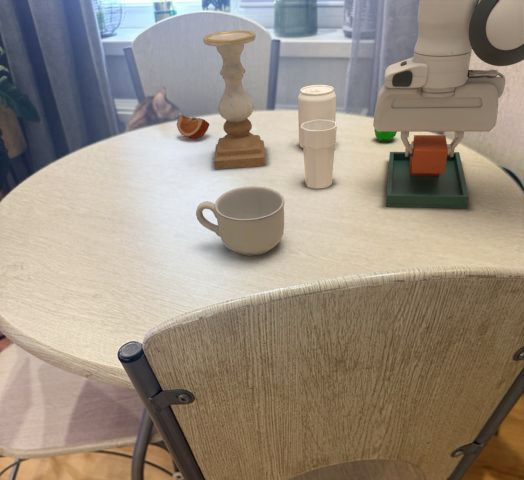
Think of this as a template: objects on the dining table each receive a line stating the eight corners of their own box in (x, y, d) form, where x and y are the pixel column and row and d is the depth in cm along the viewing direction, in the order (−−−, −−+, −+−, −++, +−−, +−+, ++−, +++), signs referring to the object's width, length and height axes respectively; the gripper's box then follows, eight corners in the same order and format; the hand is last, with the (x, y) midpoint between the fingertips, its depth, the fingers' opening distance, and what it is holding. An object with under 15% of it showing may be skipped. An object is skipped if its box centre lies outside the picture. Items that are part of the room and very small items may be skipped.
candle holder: (264, 148, 122) (256, 28, 107) (266, 165, 114) (258, 37, 98) (216, 151, 122) (202, 32, 107) (214, 169, 114) (199, 42, 99)
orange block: (442, 157, 99) (445, 135, 96) (444, 173, 93) (448, 150, 90) (411, 156, 100) (414, 135, 97) (411, 173, 94) (414, 150, 91)
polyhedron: (373, 144, 119) (374, 121, 116) (374, 136, 123) (375, 115, 120) (395, 144, 118) (398, 121, 115) (396, 136, 122) (398, 114, 119)
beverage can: (336, 151, 117) (337, 92, 110) (299, 153, 118) (298, 95, 110) (333, 139, 124) (334, 83, 116) (298, 141, 124) (297, 85, 116)
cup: (342, 184, 103) (344, 125, 96) (314, 193, 101) (314, 133, 94) (322, 174, 108) (322, 117, 101) (295, 182, 105) (293, 124, 98)
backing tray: (457, 162, 108) (459, 152, 107) (466, 208, 92) (468, 197, 90) (389, 161, 111) (389, 151, 109) (385, 206, 94) (386, 195, 93)
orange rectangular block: (437, 161, 107) (440, 141, 105) (439, 176, 102) (442, 155, 99) (409, 161, 109) (411, 141, 106) (409, 176, 103) (411, 155, 100)
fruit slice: (173, 138, 132) (169, 117, 128) (192, 131, 135) (189, 110, 132) (197, 144, 127) (194, 122, 124) (216, 136, 131) (214, 114, 128)
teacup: (294, 234, 89) (292, 188, 84) (274, 267, 81) (271, 218, 76) (217, 227, 93) (211, 182, 88) (191, 257, 85) (183, 210, 80)
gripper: (505, 64, 87) (487, 150, 96) (377, 67, 91) (372, 149, 100) (510, 74, 82) (492, 163, 91) (375, 76, 86) (370, 161, 95)
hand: (428, 155), depth 95 cm, fingers closed on orange block, 5 cm apart
